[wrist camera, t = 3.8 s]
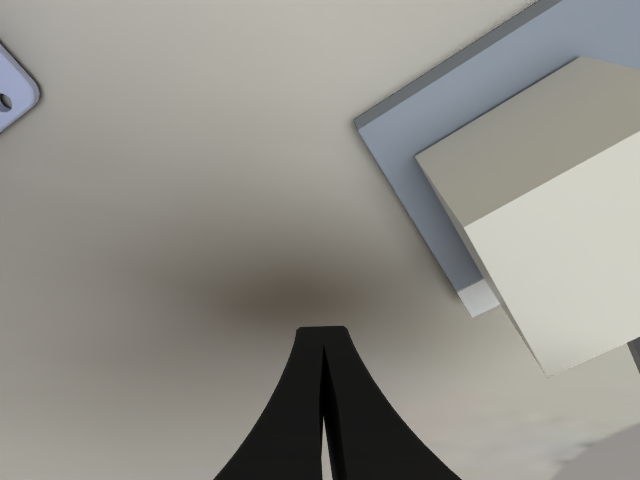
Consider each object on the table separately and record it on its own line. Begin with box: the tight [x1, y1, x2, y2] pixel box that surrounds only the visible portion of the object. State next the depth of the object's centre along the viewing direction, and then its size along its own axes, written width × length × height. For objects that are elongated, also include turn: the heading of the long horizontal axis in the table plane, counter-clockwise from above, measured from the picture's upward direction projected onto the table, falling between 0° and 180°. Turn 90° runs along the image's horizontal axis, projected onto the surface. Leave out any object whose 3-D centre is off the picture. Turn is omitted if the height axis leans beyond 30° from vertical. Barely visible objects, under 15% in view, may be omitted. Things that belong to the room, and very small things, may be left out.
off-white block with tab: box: [415, 56, 640, 378], centre depth 12 cm, size 6×8×5 cm
